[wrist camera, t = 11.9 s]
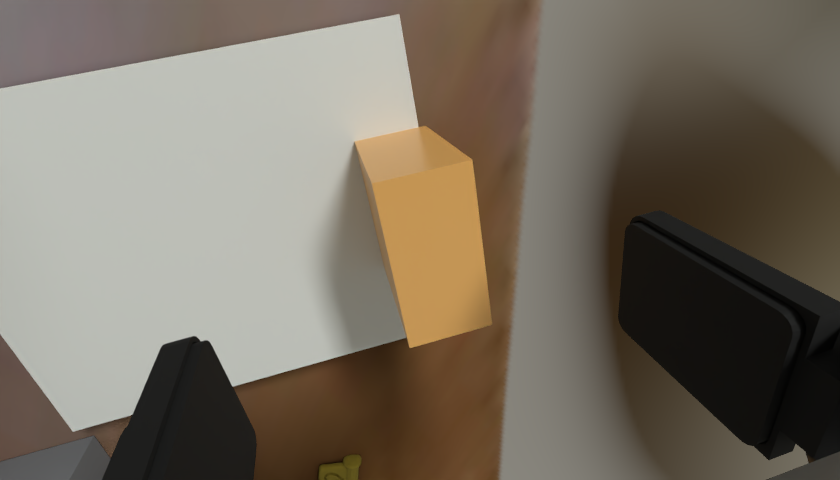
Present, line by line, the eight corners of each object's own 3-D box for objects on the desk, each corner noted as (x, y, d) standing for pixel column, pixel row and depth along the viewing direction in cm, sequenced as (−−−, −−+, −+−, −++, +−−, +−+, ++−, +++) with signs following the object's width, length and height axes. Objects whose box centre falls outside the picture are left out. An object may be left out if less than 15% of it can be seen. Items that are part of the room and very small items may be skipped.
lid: (-112, 110, 15) (-457, 164, 9) (398, 15, 18) (452, -3, 11) (90, 403, 22) (-15, 571, 15) (448, 304, 24) (502, 409, 17)
